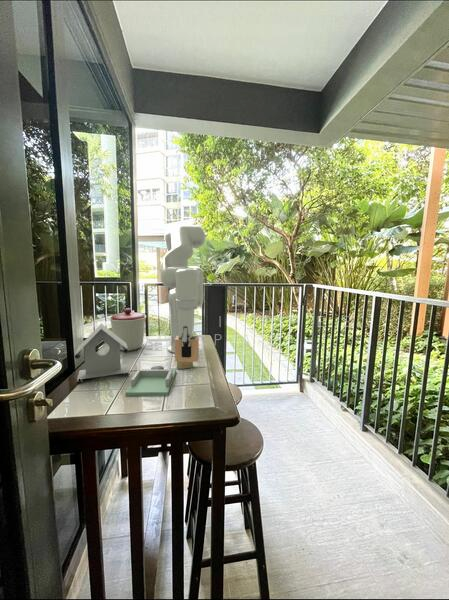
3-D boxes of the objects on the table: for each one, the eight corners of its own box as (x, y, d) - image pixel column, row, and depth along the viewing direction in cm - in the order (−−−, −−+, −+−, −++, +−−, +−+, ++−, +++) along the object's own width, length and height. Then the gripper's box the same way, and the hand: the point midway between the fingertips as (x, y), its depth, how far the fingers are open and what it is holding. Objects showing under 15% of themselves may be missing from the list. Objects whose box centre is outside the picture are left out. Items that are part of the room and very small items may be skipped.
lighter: (192, 364, 119) (191, 342, 118) (194, 367, 115) (194, 345, 114) (175, 366, 117) (175, 344, 115) (177, 370, 113) (177, 346, 112)
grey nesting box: (76, 384, 99) (72, 331, 96) (78, 374, 108) (75, 325, 105) (129, 376, 106) (127, 326, 104) (127, 367, 115) (125, 321, 112)
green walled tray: (141, 372, 110) (141, 363, 110) (176, 371, 111) (176, 363, 110) (125, 395, 91) (125, 385, 90) (167, 395, 91) (167, 385, 91)
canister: (151, 343, 151) (150, 305, 148) (141, 353, 133) (140, 311, 130) (118, 342, 151) (116, 305, 148) (104, 353, 133) (102, 311, 130)
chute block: (177, 356, 100) (176, 334, 99) (198, 356, 100) (198, 334, 99) (175, 361, 95) (174, 338, 94) (198, 361, 95) (197, 338, 94)
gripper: (179, 300, 103) (179, 346, 106) (172, 308, 86) (173, 363, 89) (199, 300, 103) (199, 346, 106) (195, 309, 86) (196, 363, 89)
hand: (187, 353), depth 97 cm, fingers closed on chute block, 5 cm apart
